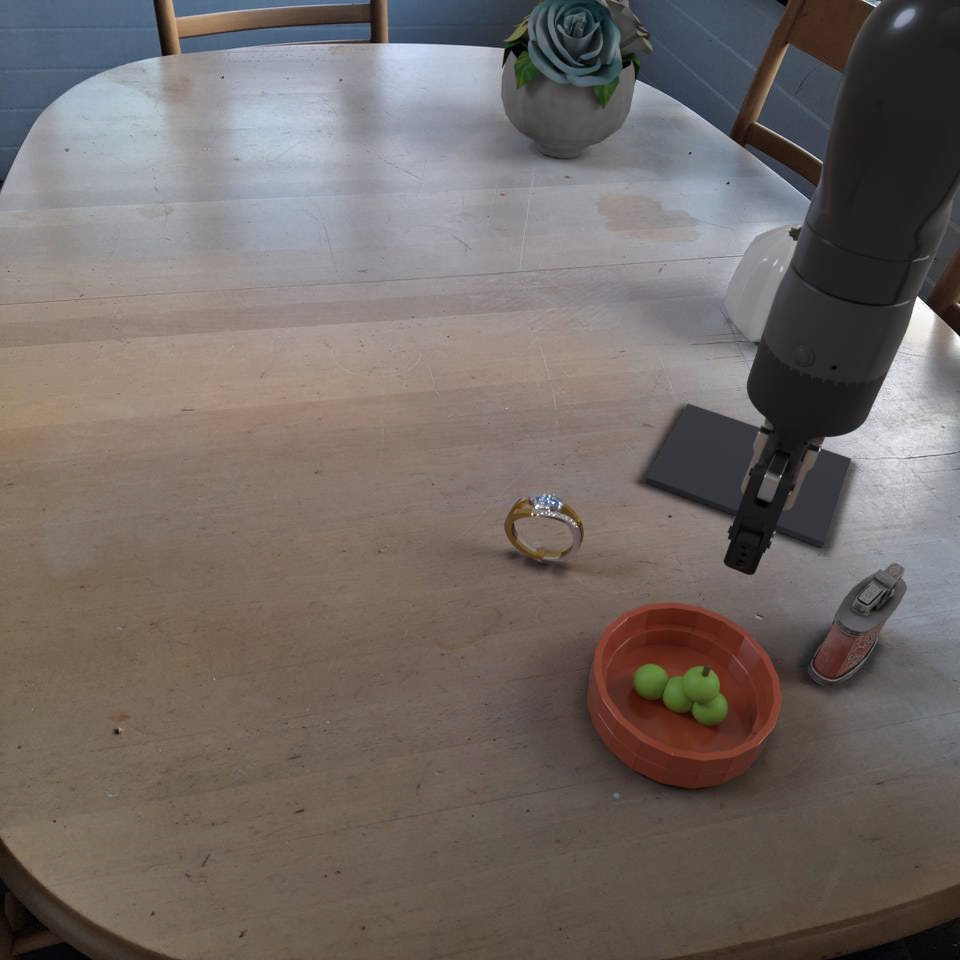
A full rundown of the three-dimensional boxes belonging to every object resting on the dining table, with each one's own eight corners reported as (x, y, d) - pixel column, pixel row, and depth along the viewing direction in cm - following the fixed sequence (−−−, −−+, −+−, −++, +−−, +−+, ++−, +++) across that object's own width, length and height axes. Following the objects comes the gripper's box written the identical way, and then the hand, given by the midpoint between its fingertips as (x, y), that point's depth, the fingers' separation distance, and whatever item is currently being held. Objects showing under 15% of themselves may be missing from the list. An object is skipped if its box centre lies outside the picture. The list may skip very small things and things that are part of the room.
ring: (497, 559, 83) (504, 496, 77) (510, 536, 85) (517, 473, 79) (569, 585, 81) (581, 522, 75) (580, 561, 83) (593, 498, 78)
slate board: (849, 463, 95) (851, 458, 95) (822, 548, 86) (825, 542, 85) (686, 408, 101) (687, 403, 100) (644, 482, 91) (646, 476, 91)
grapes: (727, 711, 72) (747, 665, 67) (717, 739, 70) (737, 693, 65) (637, 672, 74) (651, 625, 70) (625, 697, 72) (639, 651, 68)
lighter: (848, 619, 80) (890, 542, 73) (883, 643, 78) (929, 566, 71) (798, 668, 76) (837, 591, 69) (834, 695, 74) (877, 618, 67)
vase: (707, 343, 111) (734, 244, 101) (734, 291, 120) (761, 196, 111) (820, 377, 107) (859, 277, 98) (839, 321, 116) (876, 224, 107)
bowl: (783, 679, 75) (799, 646, 72) (738, 824, 65) (754, 793, 62) (622, 612, 79) (631, 578, 76) (558, 738, 69) (565, 706, 66)
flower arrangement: (663, 153, 152) (695, -6, 135) (569, 196, 138) (592, 25, 121) (551, 108, 164) (568, -44, 147) (454, 143, 150) (461, -20, 133)
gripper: (871, 426, 48) (782, 618, 59) (912, 304, 57) (829, 489, 68) (733, 380, 50) (673, 573, 61) (794, 270, 59) (733, 454, 70)
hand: (755, 529), depth 65 cm, fingers open, 8 cm apart
